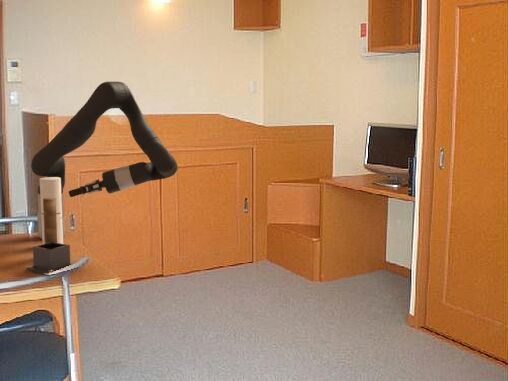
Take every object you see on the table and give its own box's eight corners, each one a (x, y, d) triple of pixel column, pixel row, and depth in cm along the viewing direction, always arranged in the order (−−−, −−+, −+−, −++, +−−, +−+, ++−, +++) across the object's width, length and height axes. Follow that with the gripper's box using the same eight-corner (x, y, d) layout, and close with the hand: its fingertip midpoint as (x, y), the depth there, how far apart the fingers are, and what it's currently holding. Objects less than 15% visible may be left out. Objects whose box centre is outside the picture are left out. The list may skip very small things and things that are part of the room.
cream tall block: (38, 247, 220) (35, 178, 216) (53, 243, 226) (50, 176, 222) (52, 250, 216) (49, 180, 213) (67, 245, 223) (65, 177, 219)
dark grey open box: (26, 270, 191) (25, 247, 190) (54, 262, 200) (53, 240, 199) (50, 276, 185) (49, 251, 184) (77, 267, 194) (77, 244, 193)
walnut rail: (42, 257, 206) (40, 198, 203) (52, 254, 210) (50, 197, 207) (51, 259, 204) (48, 200, 201) (60, 256, 208) (58, 198, 205)
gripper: (118, 168, 212) (73, 181, 211) (112, 169, 198) (63, 183, 197) (125, 188, 213) (80, 202, 212) (119, 191, 199) (70, 205, 198)
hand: (72, 193), depth 205 cm, fingers open, 8 cm apart
